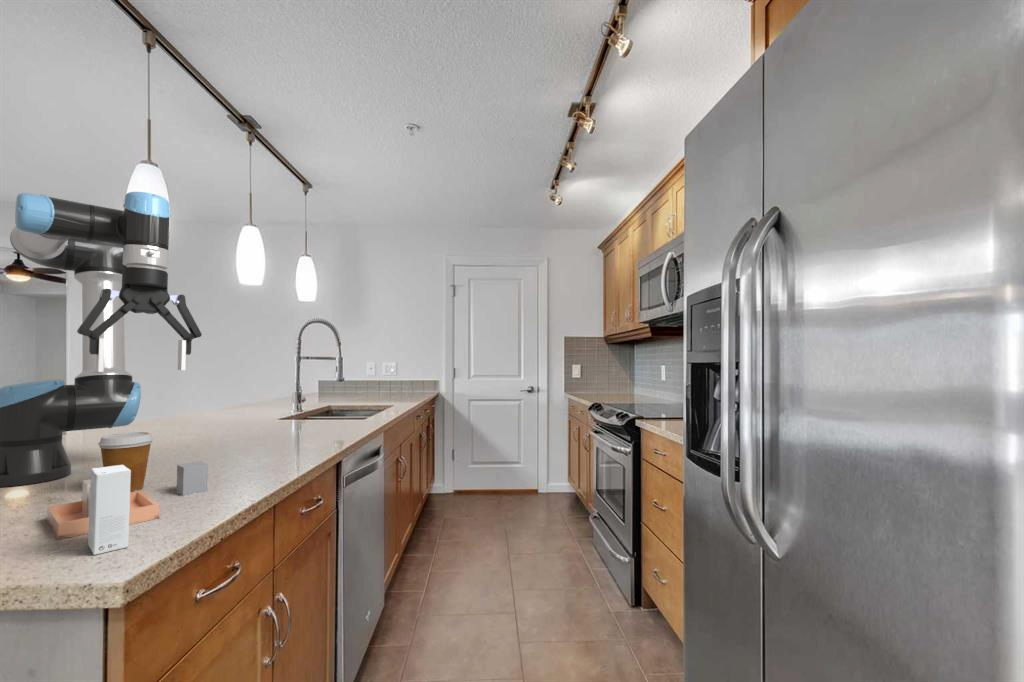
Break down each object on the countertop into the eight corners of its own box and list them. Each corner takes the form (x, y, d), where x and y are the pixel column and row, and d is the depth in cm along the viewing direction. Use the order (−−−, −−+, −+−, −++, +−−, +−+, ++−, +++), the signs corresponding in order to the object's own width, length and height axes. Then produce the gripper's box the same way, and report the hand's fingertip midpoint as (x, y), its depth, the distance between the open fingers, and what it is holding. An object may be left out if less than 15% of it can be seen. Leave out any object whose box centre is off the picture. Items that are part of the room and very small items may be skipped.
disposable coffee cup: (128, 496, 99) (130, 439, 100) (84, 496, 99) (85, 438, 100) (162, 484, 109) (164, 431, 109) (122, 483, 109) (123, 431, 109)
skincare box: (129, 547, 73) (131, 469, 73) (93, 556, 70) (95, 474, 70) (122, 537, 77) (124, 463, 77) (87, 545, 74) (89, 468, 74)
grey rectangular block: (176, 492, 102) (177, 464, 103) (200, 488, 106) (200, 461, 106) (183, 496, 99) (183, 467, 100) (207, 491, 103) (207, 464, 103)
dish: (47, 521, 84) (47, 506, 84) (140, 503, 95) (140, 490, 95) (58, 540, 76) (58, 524, 76) (159, 518, 86) (159, 504, 86)
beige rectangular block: (81, 513, 87) (82, 480, 87) (113, 507, 90) (114, 475, 90) (86, 518, 84) (87, 484, 84) (118, 512, 87) (119, 479, 88)
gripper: (66, 257, 86) (62, 373, 86) (219, 275, 105) (216, 370, 105) (60, 261, 91) (57, 371, 91) (207, 278, 110) (205, 368, 110)
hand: (142, 370), depth 98 cm, fingers open, 13 cm apart
